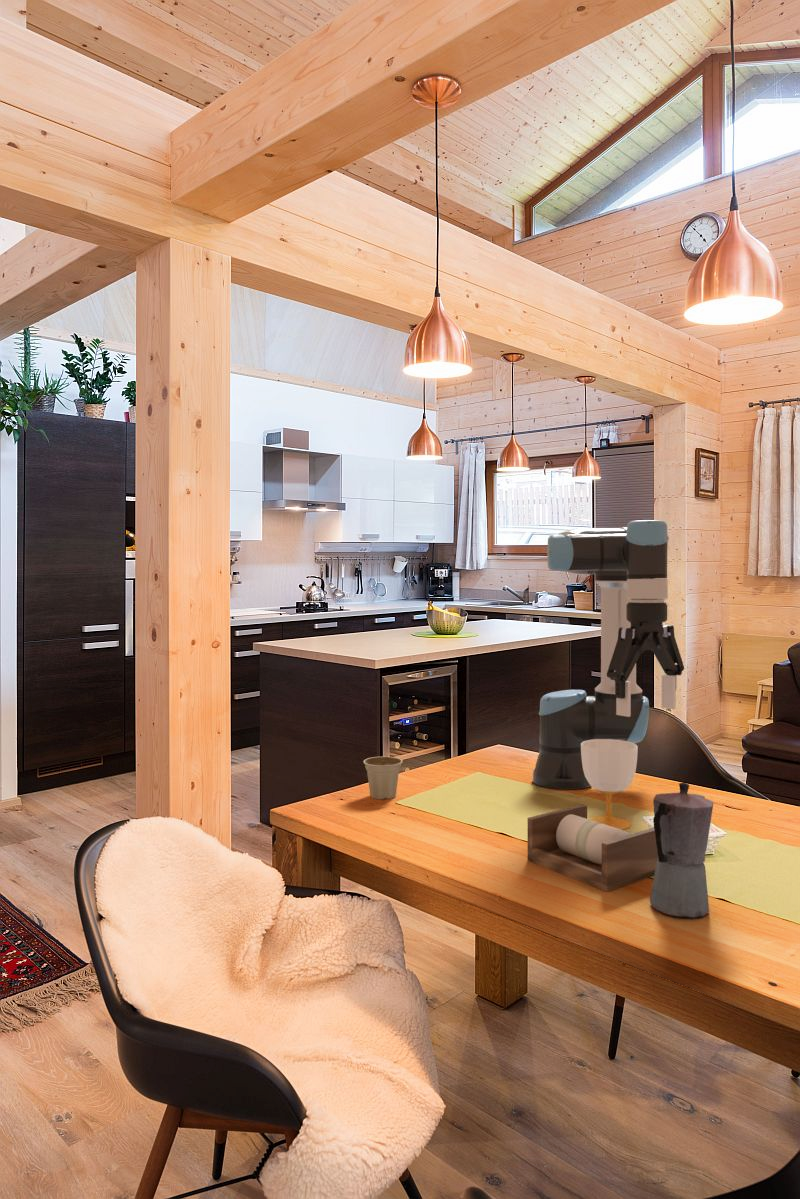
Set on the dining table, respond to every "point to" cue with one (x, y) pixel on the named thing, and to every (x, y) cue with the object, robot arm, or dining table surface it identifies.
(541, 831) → the holder
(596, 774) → the cup
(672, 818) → the moka pot
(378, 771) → the flower pot
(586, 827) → the roll
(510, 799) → the dining table surface
